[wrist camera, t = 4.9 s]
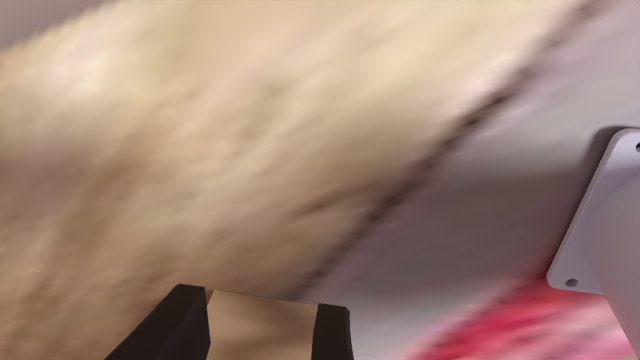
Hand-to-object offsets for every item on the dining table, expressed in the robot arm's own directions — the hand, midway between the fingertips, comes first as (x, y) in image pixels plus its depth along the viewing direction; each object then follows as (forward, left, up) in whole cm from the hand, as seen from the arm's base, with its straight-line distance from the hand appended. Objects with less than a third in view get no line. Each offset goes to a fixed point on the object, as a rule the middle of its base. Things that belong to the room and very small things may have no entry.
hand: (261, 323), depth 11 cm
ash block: (+2, +13, -10) cm, 16 cm away
